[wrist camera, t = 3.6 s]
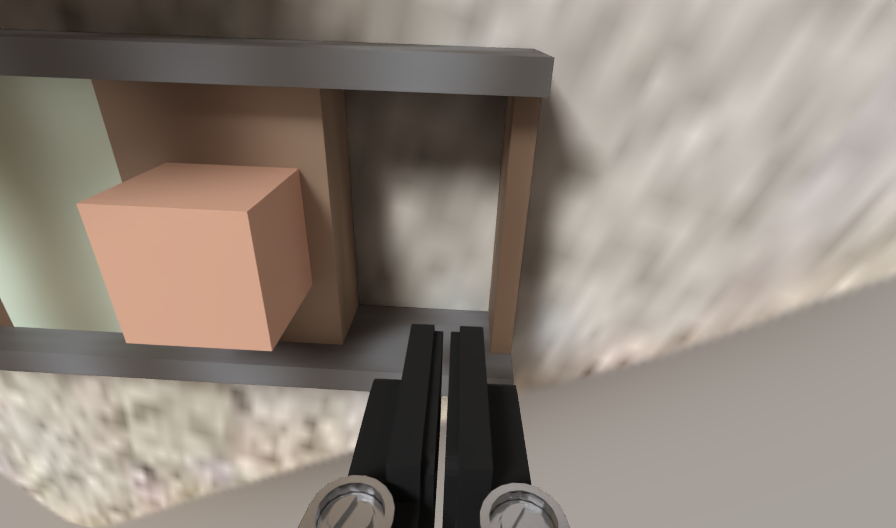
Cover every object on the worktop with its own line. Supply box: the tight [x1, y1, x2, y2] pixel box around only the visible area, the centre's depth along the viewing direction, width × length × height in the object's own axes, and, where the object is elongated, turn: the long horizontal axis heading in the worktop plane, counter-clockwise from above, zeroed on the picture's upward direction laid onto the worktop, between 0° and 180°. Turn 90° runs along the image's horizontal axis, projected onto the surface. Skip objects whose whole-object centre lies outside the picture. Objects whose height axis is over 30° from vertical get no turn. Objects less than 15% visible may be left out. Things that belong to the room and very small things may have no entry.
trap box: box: [0, 29, 554, 396], centre depth 17 cm, size 28×12×4 cm, turn 88°
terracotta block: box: [76, 162, 313, 351], centre depth 15 cm, size 4×4×4 cm
